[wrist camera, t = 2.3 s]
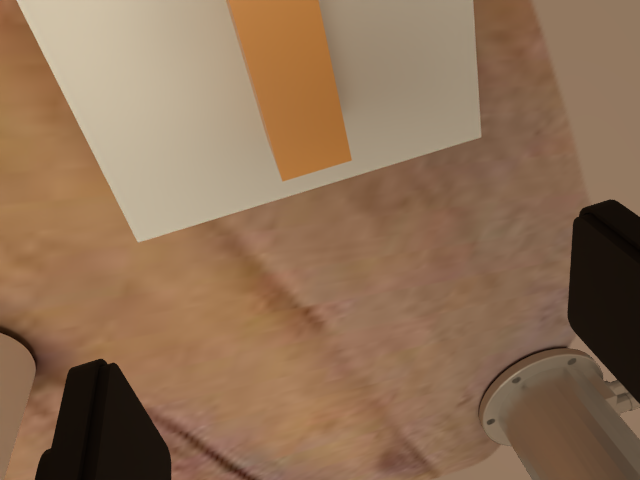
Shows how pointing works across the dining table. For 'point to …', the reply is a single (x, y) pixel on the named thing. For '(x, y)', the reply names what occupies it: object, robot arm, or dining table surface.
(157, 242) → the dining table surface
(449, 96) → the lid
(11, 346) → the can
